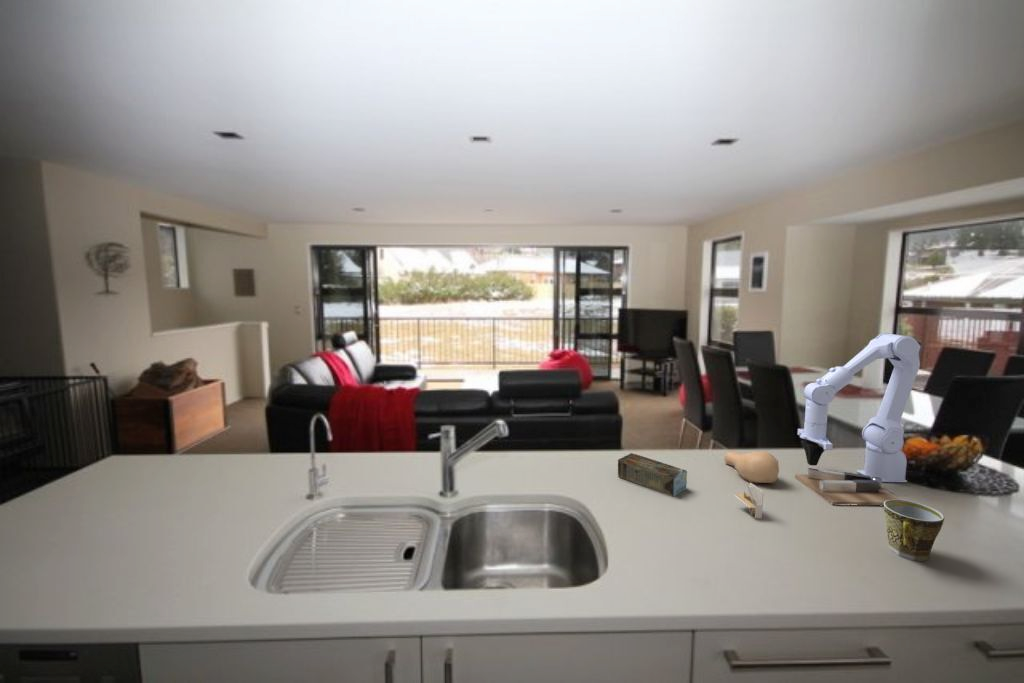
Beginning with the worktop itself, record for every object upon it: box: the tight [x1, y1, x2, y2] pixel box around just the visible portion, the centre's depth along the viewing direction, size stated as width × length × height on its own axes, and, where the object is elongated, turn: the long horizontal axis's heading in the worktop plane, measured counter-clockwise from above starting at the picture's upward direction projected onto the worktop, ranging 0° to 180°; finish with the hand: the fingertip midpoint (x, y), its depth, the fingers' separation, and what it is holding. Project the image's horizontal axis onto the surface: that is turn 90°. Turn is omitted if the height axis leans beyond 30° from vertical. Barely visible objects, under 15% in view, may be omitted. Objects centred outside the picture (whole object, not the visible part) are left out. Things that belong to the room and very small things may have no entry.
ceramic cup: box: [883, 499, 945, 562], centre depth 100 cm, size 13×10×10 cm
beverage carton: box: [617, 452, 688, 497], centre depth 138 cm, size 8×19×7 cm, turn 43°
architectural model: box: [734, 482, 764, 519], centre depth 119 cm, size 3×7×7 cm, turn 5°
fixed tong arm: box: [819, 480, 879, 493], centre depth 129 cm, size 15×2×3 cm, turn 87°
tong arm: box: [806, 467, 883, 489], centre depth 134 cm, size 18×2×3 cm, turn 62°
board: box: [794, 473, 902, 507], centre depth 131 cm, size 19×18×1 cm
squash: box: [723, 450, 780, 484], centre depth 143 cm, size 11×20×9 cm, turn 11°
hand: (812, 464), depth 143 cm, fingers closed
